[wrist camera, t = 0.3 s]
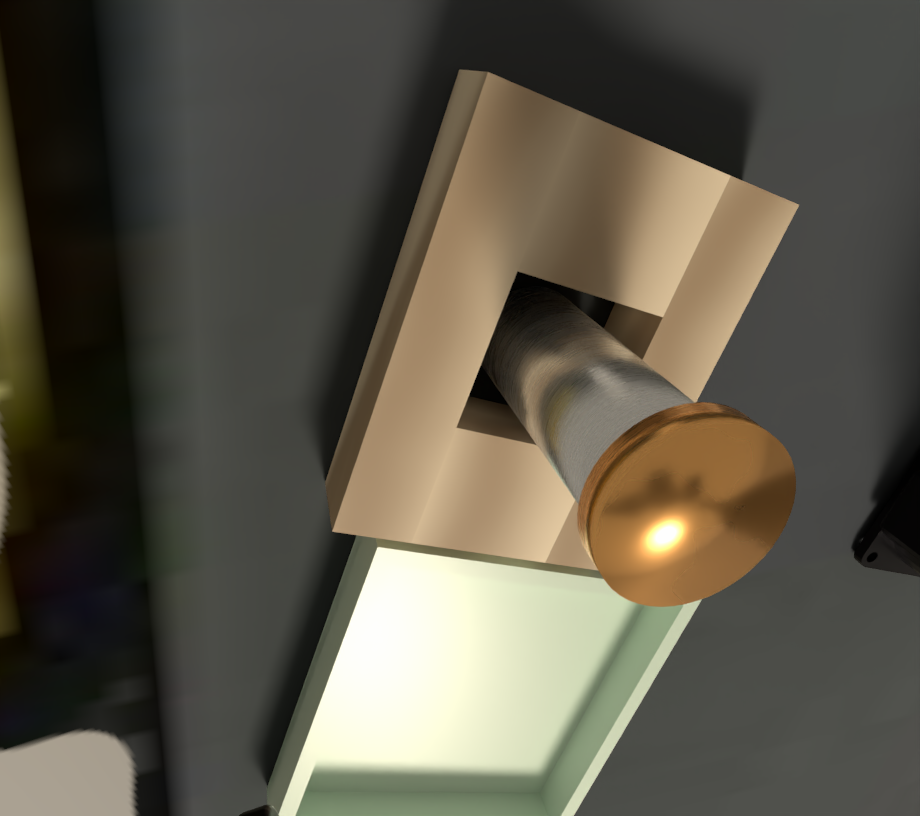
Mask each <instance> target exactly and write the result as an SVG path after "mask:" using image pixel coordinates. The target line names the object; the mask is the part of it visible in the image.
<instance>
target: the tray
mask: <svg viewBox="0 0 920 816" xmlns="http://www.w3.org/2000/svg"><path fill="white" fill-rule="evenodd" d="M701 600H702V599H701ZM701 600H698V601H695V602H691V603H687V604H683V605H677V606H668V607H655V606H646V605H641V604H637V603H635V602H632V601H629V600H627V599H625V598H624V597H622V596H620V595H619V594H617V593H616V592H615V591H614V590H612V589H611V587H610V586H609V585H608V584H607V583H606V582H605V580H604V579H603V577H602V575H601V574H600V572H599V571H598V570H591V569H584V568H577V567H570V566H563V565H557V564H550V563H543V562H536V561H529V560H522V559H516V558H509V557H502V556H495V555H488V554H482V553H475V552H468V551H461V550H454V549H447V548H441V547H434V546H427V545H420V544H413V543H406V542H400V541H393V540H386V539H379V538H372V537H366V536H359V535H356V538H355V541H354V544H353V547H352V550H351V552H350V555H349V558H348V561H347V564H346V566H345V569H344V572H343V575H342V578H341V581H340V583H339V586H338V589H337V592H336V595H335V597H334V600H333V603H332V606H331V609H330V612H329V614H328V617H327V620H326V623H325V626H324V628H323V631H322V634H321V637H320V640H319V643H318V645H317V648H316V651H315V654H314V657H313V659H312V662H311V665H310V668H309V671H308V674H307V676H306V679H305V682H304V685H303V688H302V690H301V693H300V696H299V699H298V702H297V705H296V707H295V710H294V713H293V716H292V719H291V721H290V724H289V727H288V730H287V733H286V736H285V738H284V741H283V744H282V747H281V750H280V752H279V755H278V758H277V761H276V764H275V767H274V769H273V772H272V775H271V778H270V781H269V784H268V786H267V805H268V804H269V805H271V806H273V807H274V808H275V809H276V811H277V813H278V814H279V816H574V814H575V812H576V811H577V809H578V807H579V806H580V804H581V802H582V801H583V799H584V797H585V796H586V794H587V792H588V790H589V789H590V787H591V785H592V784H593V782H594V780H595V779H596V777H597V775H598V774H599V772H600V770H601V769H602V767H603V765H604V763H605V762H606V760H607V758H608V757H609V755H610V753H611V752H612V750H613V748H614V747H615V745H616V743H617V742H618V740H619V738H620V736H621V735H622V733H623V731H624V730H625V728H626V726H627V725H628V723H629V721H630V720H631V718H632V716H633V715H634V713H635V711H636V709H637V708H638V706H639V704H640V703H641V701H642V699H643V698H644V696H645V694H646V693H647V691H648V689H649V688H650V686H651V684H652V682H653V681H654V679H655V677H656V676H657V674H658V672H659V671H660V669H661V667H662V666H663V664H664V662H665V661H666V659H667V657H668V655H669V654H670V652H671V650H672V649H673V647H674V645H675V644H676V642H677V640H678V639H679V637H680V635H681V634H682V632H683V630H684V628H685V627H686V625H687V623H688V622H689V620H690V618H691V617H692V615H693V613H694V612H695V610H696V608H697V607H698V605H699V603H700V601H701Z"/></svg>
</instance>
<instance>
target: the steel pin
mask: <svg viewBox="0 0 920 816" xmlns="http://www.w3.org/2000/svg"><path fill="white" fill-rule="evenodd" d="M481 365H482V367H483V368H484V370H485V371H486V373H487V374H488V376H489V377H490V379H491V380H492V382H493V383H494V384H495V386H496V387H497V389H498V390H499V392H500V393H501V394H502V396H503V397H504V399H505V400H506V402H507V403H508V404H509V406H510V407H511V409H512V410H513V412H514V413H515V414H516V416H517V417H518V419H519V420H520V422H521V423H522V424H523V426H524V427H525V429H526V430H527V432H528V433H529V435H530V436H531V437H532V439H533V440H534V442H535V443H536V445H537V446H538V447H539V449H540V450H541V452H542V453H543V455H544V456H545V457H546V459H547V460H548V462H549V463H550V465H551V466H552V467H553V469H554V470H555V472H556V473H557V475H558V476H559V477H560V479H561V480H562V482H563V483H564V485H565V486H566V487H567V489H568V490H569V492H570V493H571V495H572V496H573V498H574V499H575V500H576V502H577V503H578V512H577V526H578V531H579V537H580V539H581V542H582V545H583V547H584V549H585V550H586V552H587V554H588V555H589V557H590V558H591V560H592V562H593V563H594V565H595V566H596V568H597V569H598V571H599V572H600V574H601V575H602V577H603V579H604V580H605V582H606V583H607V584H608V585H609V586H610V587H611V589H612V590H614V591H615V592H616V593H617V594H619V595H620V596H622V597H624V598H625V599H627V600H629V601H632V602H635V603H637V604H641V605H646V606H655V607H668V606H677V605H683V604H687V603H691V602H695V601H698V600H701V599H703V598H706V597H709V596H711V595H713V594H715V593H717V592H719V591H721V590H723V589H725V588H726V587H728V586H730V585H731V584H733V583H734V582H736V581H737V580H738V579H740V578H741V577H743V576H744V575H745V574H746V573H747V572H749V571H750V570H751V569H752V568H753V567H754V566H755V565H756V564H757V563H758V562H759V561H760V560H761V559H762V558H763V557H764V556H765V555H766V554H767V553H768V551H769V550H770V549H771V548H772V546H773V545H774V543H775V542H776V541H777V539H778V538H779V536H780V534H781V532H782V531H783V529H784V527H785V525H786V523H787V521H788V518H789V516H790V513H791V510H792V506H793V503H794V498H795V491H796V477H795V470H794V466H793V463H792V460H791V457H790V456H789V454H788V452H787V450H786V449H785V447H784V446H783V445H782V444H781V442H780V441H779V440H777V439H776V438H775V437H774V436H773V435H771V434H770V433H769V432H767V431H766V430H765V429H763V428H762V427H761V426H759V425H758V424H757V423H755V422H754V421H753V420H751V419H750V418H749V417H747V416H746V415H745V414H743V413H741V412H740V411H738V410H736V409H734V408H731V407H729V406H726V405H722V404H716V403H706V402H698V403H695V402H694V401H692V400H691V399H690V398H689V397H687V396H686V395H685V394H684V393H682V392H681V391H680V390H679V389H678V388H676V387H675V386H674V385H673V384H671V383H670V382H669V381H668V380H666V379H665V378H664V377H663V376H661V375H660V374H659V373H658V372H657V371H655V370H654V369H653V368H652V367H650V366H649V365H648V364H647V363H645V362H644V361H643V360H642V359H640V358H639V357H638V356H637V355H636V354H634V353H633V352H632V351H631V350H629V349H628V348H627V347H626V346H624V345H623V344H622V343H621V342H620V341H618V340H617V339H616V338H615V337H613V336H612V335H611V334H610V333H608V332H607V331H606V330H605V329H603V328H602V327H601V326H600V325H599V324H597V323H596V322H595V321H594V320H592V319H591V318H590V317H589V316H587V315H586V314H585V313H584V312H583V311H581V310H580V309H579V308H578V307H576V306H575V305H574V304H573V303H571V302H570V301H569V300H568V299H566V298H565V297H564V296H563V295H562V294H560V293H558V292H557V291H555V290H552V289H550V288H546V287H539V286H530V287H524V288H520V289H517V290H514V291H512V292H510V293H509V294H508V297H507V299H506V302H505V304H504V307H503V310H502V312H501V315H500V317H499V320H498V322H497V325H496V327H495V330H494V333H493V335H492V338H491V340H490V343H489V345H488V348H487V350H486V353H485V356H484V358H483V361H482V363H481Z"/></svg>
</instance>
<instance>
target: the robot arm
mask: <svg viewBox="0 0 920 816" xmlns="http://www.w3.org/2000/svg"><path fill="white" fill-rule="evenodd" d="M854 558H855V559H856V560H857V561H858V562H859V563H860V564H861V565H863V566H864V567H868V568H874V569H880V570H885V571H891V572H896V573H902V574H908V575H913V576H919V577H920V455H919V457H918V458H917V460H916V461H915V463H914V464H913V466H912V467H911V469H910V470H909V472H908V473H907V475H906V476H905V478H904V479H903V481H902V482H901V484H900V485H899V486H898V488H897V489H896V491H895V492H894V494H893V495H892V497H891V498H890V500H889V501H888V503H887V504H886V506H885V507H884V509H883V510H882V512H881V513H880V515H879V516H878V518H877V519H876V521H875V522H874V524H873V525H872V527H871V528H870V530H869V531H868V533H867V534H866V536H865V537H864V539H863V540H862V542H861V543H860V545H859V546H858V548H857V549H856V551H855V553H854ZM239 816H279V814H278V813H277V811H276V809H275V808H274V807H273V806H271V805H269V804H268V805H264V806H261V807H258V808H255V809H252V810H249V811H246V812H243V813H242V814H240V815H239Z"/></svg>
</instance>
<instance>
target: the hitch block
mask: <svg viewBox="0 0 920 816" xmlns="http://www.w3.org/2000/svg"><path fill="white" fill-rule="evenodd" d="M798 206H799V205H798V204H796V203H793V202H791V201H789V200H786V199H784V198H782V197H779V196H777V195H775V194H772V193H770V192H768V191H765V190H763V189H761V188H758V187H756V186H754V185H751V184H749V183H747V182H744V181H742V180H739V179H737V178H735V177H732V176H730V175H728V174H725V173H723V172H721V171H718V170H716V169H714V168H711V167H709V166H707V165H704V164H702V163H700V162H697V161H695V160H693V159H690V158H688V157H686V156H683V155H681V154H679V153H676V152H674V151H672V150H669V149H667V148H665V147H662V146H660V145H658V144H655V143H653V142H651V141H648V140H646V139H644V138H641V137H639V136H637V135H634V134H632V133H630V132H627V131H625V130H623V129H620V128H618V127H616V126H613V125H611V124H609V123H606V122H604V121H601V120H599V119H597V118H594V117H592V116H590V115H587V114H585V113H583V112H580V111H578V110H576V109H573V108H571V107H569V106H566V105H564V104H562V103H559V102H557V101H555V100H552V99H550V98H548V97H545V96H543V95H541V94H538V93H536V92H534V91H531V90H529V89H527V88H524V87H522V86H520V85H517V84H515V83H513V82H510V81H508V80H506V79H503V78H501V77H499V76H496V75H494V74H492V73H489V72H482V71H471V70H460V69H459V72H458V75H457V78H456V81H455V84H454V87H453V90H452V93H451V97H450V100H449V103H448V106H447V109H446V112H445V115H444V118H443V121H442V124H441V127H440V130H439V133H438V137H437V140H436V143H435V146H434V149H433V152H432V155H431V158H430V161H429V164H428V167H427V170H426V174H425V177H424V180H423V183H422V186H421V189H420V192H419V195H418V198H417V201H416V204H415V207H414V210H413V214H412V217H411V220H410V223H409V226H408V229H407V232H406V235H405V238H404V241H403V244H402V247H401V251H400V254H399V257H398V260H397V263H396V266H395V269H394V272H393V275H392V278H391V281H390V284H389V287H388V291H387V294H386V297H385V300H384V303H383V306H382V309H381V312H380V315H379V318H378V321H377V324H376V328H375V331H374V334H373V337H372V340H371V343H370V346H369V349H368V352H367V355H366V358H365V361H364V364H363V368H362V371H361V374H360V377H359V380H358V383H357V386H356V389H355V392H354V395H353V398H352V401H351V405H350V408H349V411H348V414H347V417H346V420H345V423H344V426H343V429H342V432H341V435H340V438H339V441H338V445H337V448H336V451H335V454H334V457H333V460H332V463H331V466H330V469H329V472H328V475H327V478H326V482H325V485H326V492H327V499H328V506H329V513H330V520H331V526H332V532H338V533H345V534H352V535H359V536H366V537H372V538H379V539H386V540H393V541H400V542H406V543H413V544H420V545H427V546H434V547H441V548H447V549H454V550H461V551H468V552H475V553H482V554H488V555H495V556H502V557H509V558H516V559H522V560H529V561H536V562H543V563H550V564H557V565H563V566H570V567H577V568H584V569H591V570H598V569H597V568H596V566H595V565H594V563H593V562H592V560H591V558H590V557H589V555H588V554H587V552H586V550H585V549H584V547H583V545H582V542H581V539H580V537H579V531H578V526H577V512H578V503H577V502H576V500H575V499H574V498H573V496H572V495H571V493H570V492H569V490H568V489H567V487H566V486H565V485H564V483H563V482H562V480H561V479H560V477H559V476H558V475H557V473H556V472H555V470H554V469H553V467H552V466H551V465H550V463H549V462H548V460H547V459H546V457H545V456H544V455H543V453H542V452H541V450H540V449H539V447H538V446H537V445H536V443H535V442H534V440H533V439H532V437H531V436H530V435H529V433H528V432H527V430H526V429H525V427H524V426H523V424H522V423H521V422H520V420H519V419H518V417H517V416H516V414H515V413H514V412H513V410H512V409H511V407H510V406H509V405H504V404H500V403H496V402H492V401H488V400H483V399H479V398H475V397H471V396H469V394H470V391H471V389H472V386H473V384H474V381H475V379H476V376H477V374H478V371H479V368H480V366H481V363H482V361H483V358H484V356H485V353H486V350H487V348H488V345H489V343H490V340H491V338H492V335H493V333H494V330H495V327H496V325H497V322H498V320H499V317H500V315H501V312H502V310H503V307H504V304H505V302H506V299H507V297H508V294H509V292H510V289H511V286H512V284H513V281H514V279H515V276H516V274H517V271H518V272H521V273H525V274H528V275H531V276H534V277H537V278H540V279H543V280H547V281H550V282H553V283H556V284H559V285H562V286H566V287H569V288H572V289H575V290H578V291H581V292H585V293H588V294H591V295H594V296H597V297H600V298H603V299H607V300H610V301H613V302H615V304H614V307H613V309H612V311H611V313H610V316H609V318H608V320H607V322H606V324H605V327H604V329H605V330H606V331H607V332H608V333H610V334H611V335H612V336H613V337H615V338H616V339H617V340H618V341H620V342H621V343H622V344H623V345H624V346H626V347H627V348H628V349H629V350H631V351H632V352H633V353H634V354H636V355H637V356H638V357H639V358H640V359H642V360H643V361H644V362H645V363H647V364H648V365H649V366H650V367H652V368H653V369H654V370H655V371H657V372H658V373H659V374H660V375H661V376H663V377H664V378H665V379H666V380H668V381H669V382H670V383H671V384H673V385H674V386H675V387H676V388H678V389H679V390H680V391H681V392H682V393H684V394H685V395H686V396H687V397H689V398H690V399H691V400H692V401H694V402H695V403H696V401H697V400H698V398H699V396H700V394H701V392H702V390H703V388H704V386H705V384H706V382H707V380H708V378H709V377H710V375H711V373H712V371H713V369H714V367H715V365H716V363H717V361H718V359H719V357H720V355H721V354H722V352H723V350H724V348H725V346H726V344H727V342H728V340H729V338H730V336H731V334H732V333H733V331H734V329H735V327H736V325H737V323H738V321H739V319H740V317H741V315H742V313H743V311H744V310H745V308H746V306H747V304H748V302H749V300H750V298H751V296H752V294H753V292H754V290H755V288H756V287H757V285H758V283H759V281H760V279H761V277H762V275H763V273H764V271H765V269H766V267H767V266H768V264H769V262H770V260H771V258H772V256H773V254H774V252H775V250H776V248H777V246H778V244H779V243H780V241H781V239H782V237H783V235H784V233H785V231H786V229H787V227H788V225H789V223H790V221H791V220H792V218H793V216H794V214H795V212H796V210H797V208H798Z"/></svg>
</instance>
